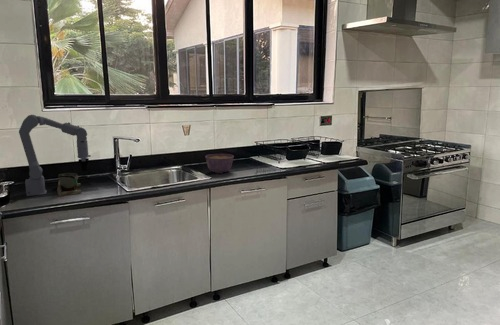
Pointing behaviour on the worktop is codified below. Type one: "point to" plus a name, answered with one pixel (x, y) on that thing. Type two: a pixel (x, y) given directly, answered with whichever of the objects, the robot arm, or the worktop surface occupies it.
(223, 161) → the bowl of food
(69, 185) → the food container
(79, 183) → the tan piece
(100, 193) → the worktop surface
